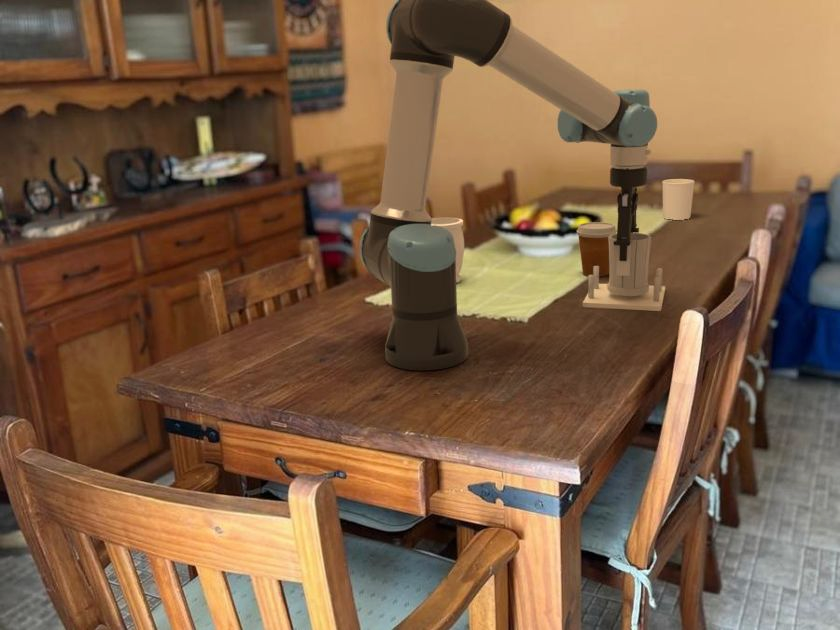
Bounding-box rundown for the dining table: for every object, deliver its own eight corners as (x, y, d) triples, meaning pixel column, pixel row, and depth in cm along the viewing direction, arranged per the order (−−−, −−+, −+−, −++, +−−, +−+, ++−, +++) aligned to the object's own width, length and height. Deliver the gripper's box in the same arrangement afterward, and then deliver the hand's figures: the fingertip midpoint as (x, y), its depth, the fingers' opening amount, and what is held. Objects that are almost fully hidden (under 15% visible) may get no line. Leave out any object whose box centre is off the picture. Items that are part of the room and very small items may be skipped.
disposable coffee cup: (571, 276, 197) (571, 228, 194) (582, 267, 205) (583, 220, 202) (609, 279, 193) (610, 230, 190) (620, 270, 201) (621, 222, 198)
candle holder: (654, 218, 264) (655, 181, 260) (677, 214, 268) (679, 178, 264) (675, 222, 255) (677, 184, 252) (699, 218, 259) (701, 181, 256)
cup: (592, 290, 177) (593, 236, 174) (617, 282, 183) (619, 229, 179) (632, 298, 170) (634, 242, 166) (658, 290, 175) (660, 235, 172)
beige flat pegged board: (660, 311, 168) (662, 283, 166) (582, 307, 173) (583, 279, 171) (665, 290, 182) (666, 264, 180) (592, 287, 187) (593, 262, 185)
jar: (461, 287, 193) (459, 225, 188) (419, 286, 195) (416, 225, 191) (468, 276, 203) (466, 216, 198) (427, 275, 205) (425, 217, 200)
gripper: (642, 173, 157) (639, 283, 164) (651, 159, 178) (647, 256, 185) (603, 174, 160) (601, 281, 166) (616, 159, 181) (614, 255, 187)
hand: (625, 268), depth 175 cm, fingers closed on cup, 11 cm apart
